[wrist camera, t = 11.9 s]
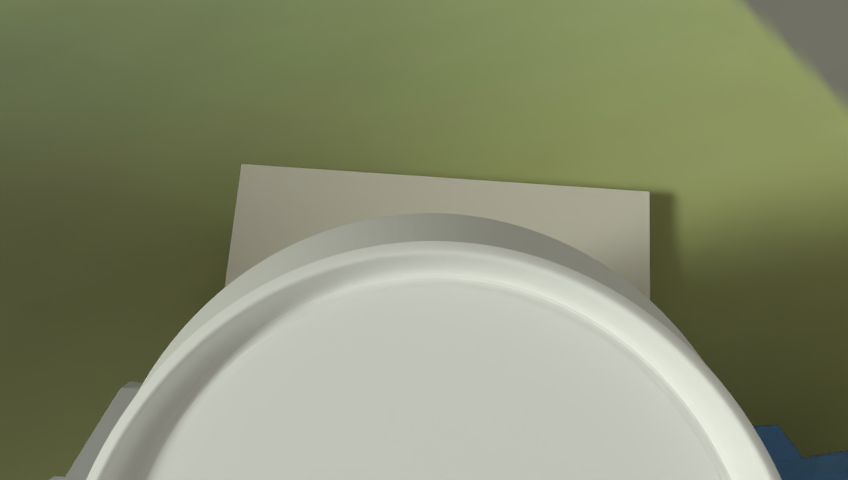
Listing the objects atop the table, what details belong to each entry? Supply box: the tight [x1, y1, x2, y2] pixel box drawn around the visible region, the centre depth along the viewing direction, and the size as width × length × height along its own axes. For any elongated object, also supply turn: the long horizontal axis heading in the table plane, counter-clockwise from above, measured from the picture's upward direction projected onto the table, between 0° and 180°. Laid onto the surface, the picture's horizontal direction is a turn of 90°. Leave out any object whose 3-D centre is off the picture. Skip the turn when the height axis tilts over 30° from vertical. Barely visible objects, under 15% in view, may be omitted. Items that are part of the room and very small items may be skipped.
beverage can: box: [86, 213, 782, 480], centre depth 10 cm, size 6×6×12 cm
